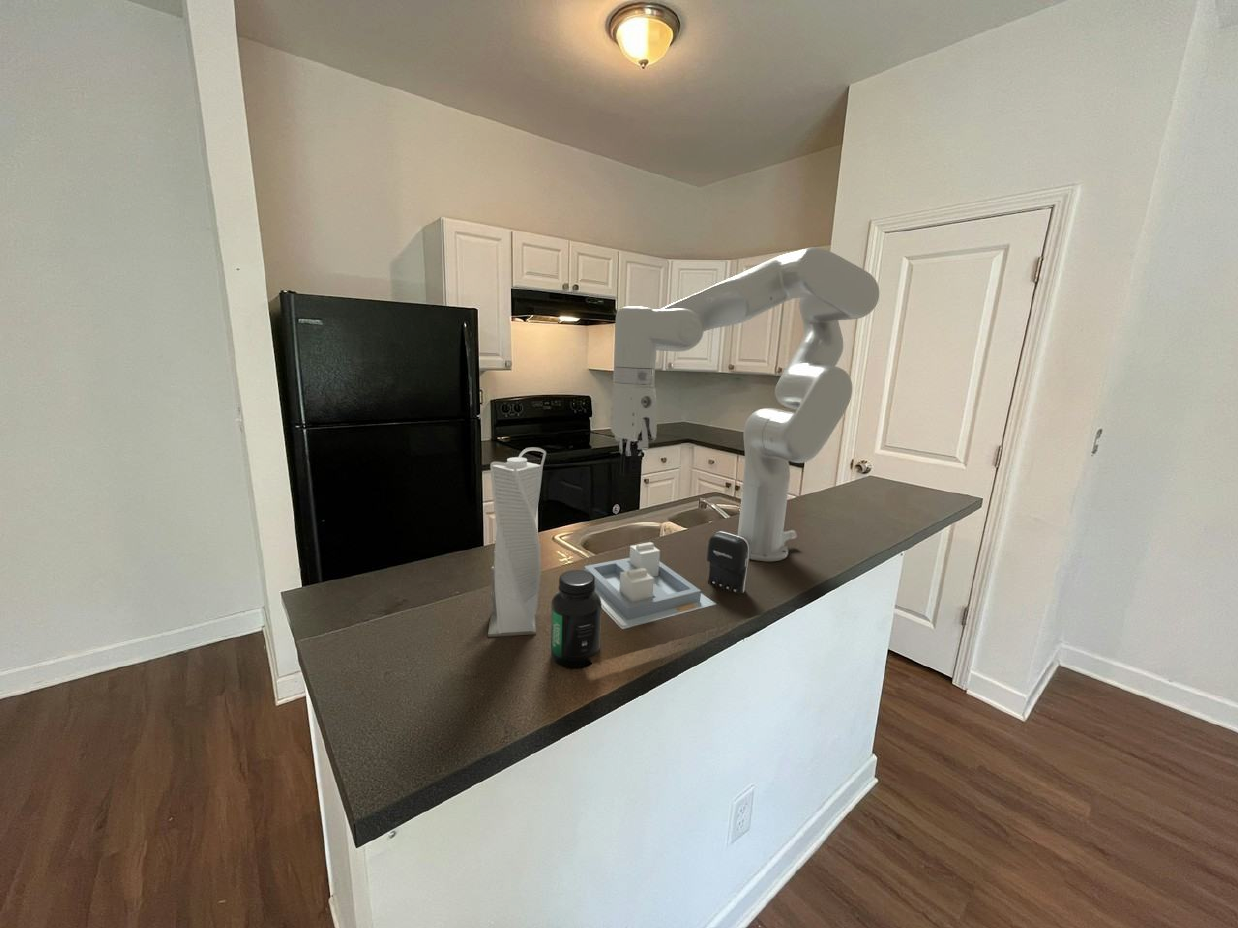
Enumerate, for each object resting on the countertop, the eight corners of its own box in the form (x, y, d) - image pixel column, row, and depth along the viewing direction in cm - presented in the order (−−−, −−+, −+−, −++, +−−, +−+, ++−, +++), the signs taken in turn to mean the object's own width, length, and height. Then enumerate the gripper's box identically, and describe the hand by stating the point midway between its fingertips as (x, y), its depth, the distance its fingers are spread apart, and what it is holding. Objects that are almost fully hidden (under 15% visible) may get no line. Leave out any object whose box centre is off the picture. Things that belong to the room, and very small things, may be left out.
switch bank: (652, 564, 98) (653, 548, 98) (715, 612, 81) (717, 593, 81) (570, 581, 90) (570, 564, 89) (621, 637, 73) (622, 616, 72)
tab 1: (647, 567, 93) (648, 538, 92) (658, 575, 90) (660, 546, 89) (628, 570, 92) (630, 542, 90) (639, 579, 88) (641, 549, 87)
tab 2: (639, 595, 82) (641, 563, 81) (652, 606, 79) (654, 573, 78) (618, 600, 81) (620, 567, 79) (630, 611, 77) (632, 578, 76)
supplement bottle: (552, 673, 64) (553, 590, 62) (549, 643, 71) (549, 567, 68) (603, 668, 66) (606, 587, 63) (595, 639, 72) (597, 565, 70)
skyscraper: (544, 609, 80) (545, 442, 74) (545, 637, 72) (547, 454, 66) (491, 612, 79) (488, 442, 72) (487, 641, 71) (483, 453, 64)
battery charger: (700, 592, 88) (705, 533, 85) (711, 585, 91) (716, 528, 88) (735, 606, 84) (742, 544, 81) (745, 598, 86) (752, 538, 84)
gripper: (674, 381, 84) (667, 483, 88) (631, 375, 97) (627, 465, 101) (636, 380, 81) (631, 486, 85) (597, 375, 93) (594, 467, 97)
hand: (629, 474), depth 93 cm, fingers closed
